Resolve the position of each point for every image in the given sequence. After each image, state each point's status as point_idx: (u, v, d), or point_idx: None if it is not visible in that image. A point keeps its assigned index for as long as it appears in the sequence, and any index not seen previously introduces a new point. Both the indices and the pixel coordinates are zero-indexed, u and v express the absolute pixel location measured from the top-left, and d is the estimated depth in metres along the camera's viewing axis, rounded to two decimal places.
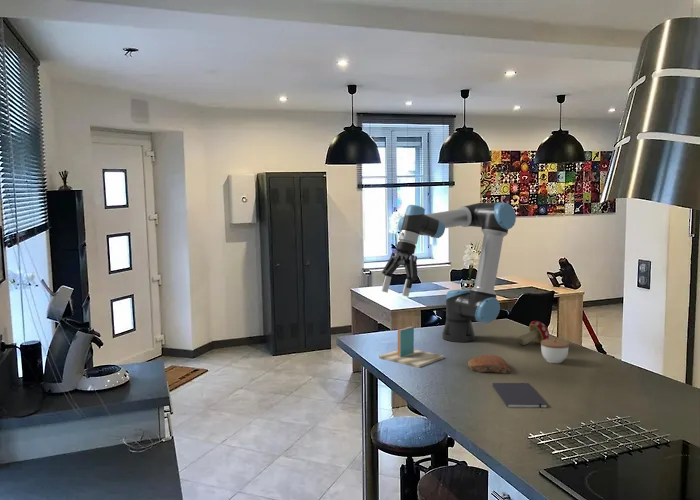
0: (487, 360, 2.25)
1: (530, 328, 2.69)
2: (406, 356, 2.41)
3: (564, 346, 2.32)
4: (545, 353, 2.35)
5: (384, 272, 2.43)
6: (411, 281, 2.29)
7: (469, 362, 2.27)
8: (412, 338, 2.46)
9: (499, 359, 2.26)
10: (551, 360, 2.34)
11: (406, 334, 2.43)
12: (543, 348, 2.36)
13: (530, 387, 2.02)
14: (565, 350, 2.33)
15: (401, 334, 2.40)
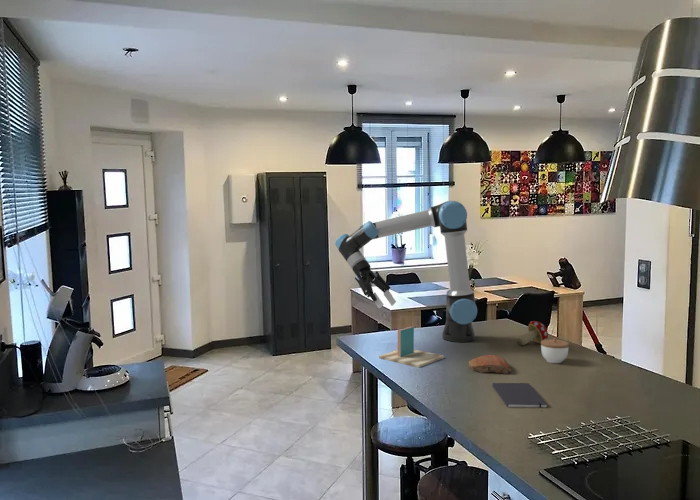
0: (488, 360, 2.25)
1: (529, 328, 2.68)
2: (406, 356, 2.41)
3: (564, 346, 2.32)
4: (545, 353, 2.35)
5: None
6: (371, 295, 2.47)
7: (470, 362, 2.27)
8: (412, 338, 2.46)
9: (500, 359, 2.26)
10: (551, 360, 2.34)
11: (406, 334, 2.43)
12: (543, 348, 2.36)
13: (530, 387, 2.02)
14: (565, 350, 2.33)
15: (401, 334, 2.40)
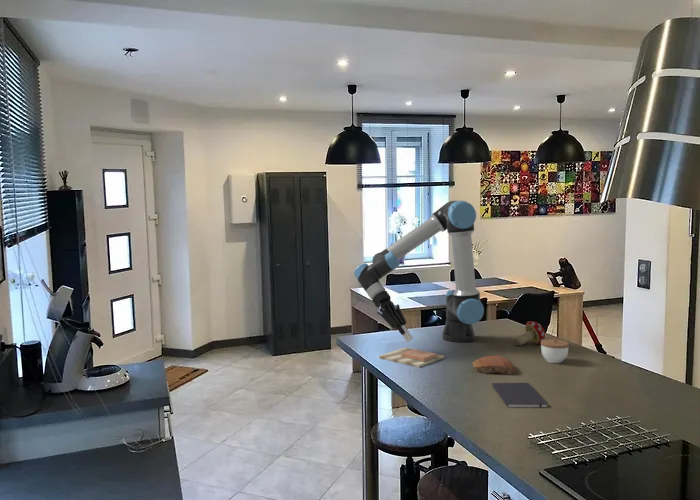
0: (492, 360, 2.24)
1: (526, 328, 2.68)
2: None
3: (564, 346, 2.32)
4: (545, 353, 2.35)
5: (401, 324, 2.48)
6: (398, 328, 2.43)
7: (474, 363, 2.26)
8: None
9: (504, 360, 2.25)
10: (551, 360, 2.34)
11: None
12: (543, 348, 2.36)
13: (530, 387, 2.02)
14: (565, 350, 2.33)
15: (420, 360, 2.35)
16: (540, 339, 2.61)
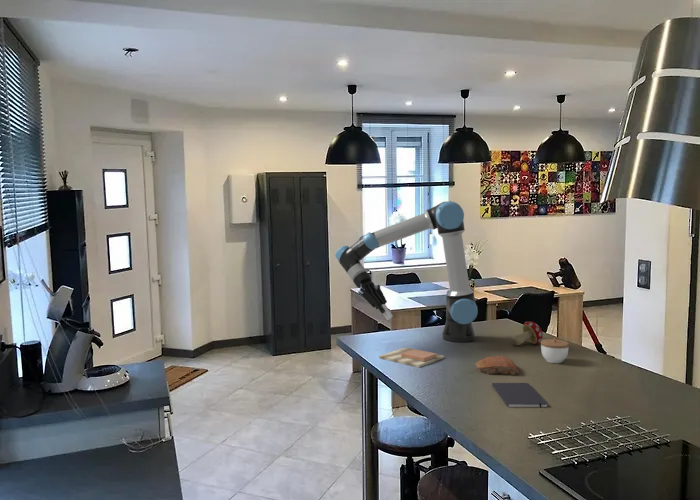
0: (495, 361, 2.23)
1: (524, 329, 2.68)
2: None
3: (564, 346, 2.32)
4: (545, 353, 2.35)
5: (381, 303, 2.54)
6: (379, 307, 2.50)
7: (477, 363, 2.25)
8: None
9: (508, 360, 2.24)
10: (551, 360, 2.34)
11: None
12: (543, 348, 2.36)
13: (530, 387, 2.02)
14: (565, 350, 2.33)
15: (420, 360, 2.35)
16: (538, 339, 2.61)
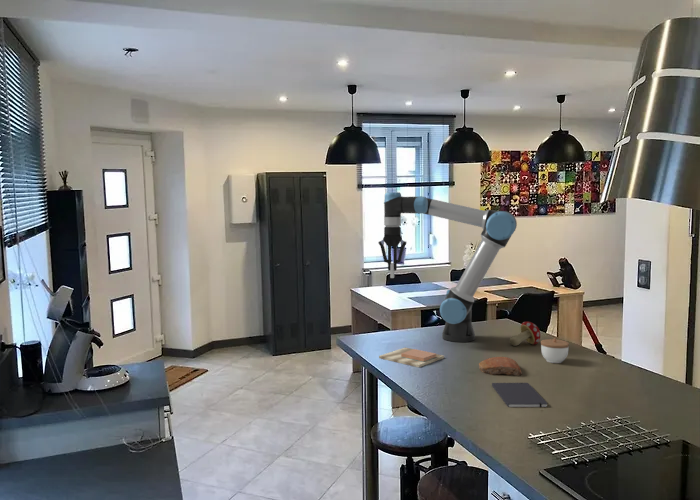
0: (498, 361, 2.23)
1: (522, 329, 2.67)
2: None
3: (564, 346, 2.32)
4: (545, 353, 2.35)
5: (398, 259, 2.69)
6: (388, 264, 2.70)
7: (480, 364, 2.24)
8: None
9: (511, 361, 2.24)
10: (551, 360, 2.34)
11: None
12: (543, 348, 2.36)
13: (529, 387, 2.02)
14: (565, 350, 2.33)
15: (420, 360, 2.35)
16: (535, 339, 2.60)
